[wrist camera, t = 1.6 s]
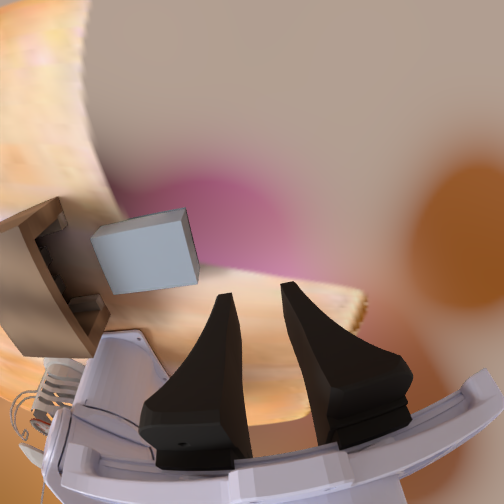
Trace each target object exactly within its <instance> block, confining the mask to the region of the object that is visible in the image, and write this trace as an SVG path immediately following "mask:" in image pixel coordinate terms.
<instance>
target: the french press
mask: <svg viewBox="0 0 504 504" xmlns="http://www.w3.org/2000/svg"><path fill="white" fill-rule="evenodd" d="M44 366H45V369H46V371H45V373H44V375H43V377H42V380H41V382H40V385H39V387H38V389H37V390H35V391H25V392H22V393H20V394H19V395H18V396H17V397H16V398H15V399H14V401H13V403H12V406H11V408H10V420H11V423H12V426H13V428H14V430H15V431H16V432H17V434H18V435H19V436H20V437H21V438H22V440H25V441H26V440H27V439H28V435H29V433H28V431H27V430H26V429H24V431H23V433H22V435H21V434H20V433H19V431H18V429H17V427H16V413H17V410H18V407H19V406H20V405H21V403H22V402H24V401H25V400H26V399H29V398H35V400H34V403H33V405H32V408H31V412H32V411H33V409H35V411H34V414H33V415H34V416H35V418H33V419H31V420H30V422H31V425H32V426H33V427H34V428H35V429H36V430H38V431H40V433H43V435H45V436H48V432H49V429H50V426H51V423H52V421H50V419H49V418H48V417H47V416H46V414H47V413H49V414H50V416H51V417H52V418H54V415H55V413H56V411H57V410H59V409H63V408H64V407H66V408H68V409H69V410H70V409H71V408H72V406H68V405H64V404H63V403H62V402H66V403H71V404H73V402H74V399H75V396H76V392H77V389H78V386H79V383H80V380H81V377H82V375H83V372H84V369H85V366H84V365H82V364H80V363H78V362H76V361H74V360H72V359H70V358H44ZM47 373H48V376H47ZM45 380H46V381H45ZM44 381H45V383H44ZM42 387H43V389H42V391H41V388H42ZM36 392H37V395H36V396H29V397H26V398H24V399H23V400H22V401H21V402H20V403H19V404H18V405H17V407H16V410H15V413H14V424H13V421H12V408H13V406H14V404H15V402H16V400H17V399H18V398H19V397H20V396H21V395H22V394H24V393H36ZM53 393H57V395H58V396H59V397H56V396H55V395H54V394H53ZM38 398H39V400H38ZM52 401H55V402H56V403H57V404H58V405H60V406H55V405H54V404H53V402H52ZM14 425H15V427H14ZM15 428H16V429H15ZM25 431H26V432H27V436H26V439H24V438H23V437H22V436H24V433H25ZM19 447H20V448H21V450H22V451H23V452H24V454H25V455H26V456H27V457H28V458H29V460H30V461H31V462H32V463H34V464H35V465H36V466H38V467H39V468H41V469H42V462H43V455H44V451H41V450H39V449H37V448H35V447H33V446H31V445H28V444H25V443H20V444H19ZM44 487H45V482H44V484H43V490H42V497H41V504H42V501H43V494H44Z"/></svg>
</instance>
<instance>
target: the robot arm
mask: <svg viewBox="0 0 504 504" xmlns="http://www.w3.org/2000/svg"><path fill="white" fill-rule="evenodd" d="M280 285H281V294H282V303H283V313H284V319H285V323H286V327H287V332H288V335H289V338H290V341H291V343H292V346H293V349H294V352H295V355H296V357H297V360H298V363H299V366H300V368H301V371H302V374H303V378H304V382H305V386H306V390H307V394H308V399H309V403H310V408H311V412H312V417H313V422H314V426H315V431H316V436H317V442H318V447H313V448H309V449H304V450H299V451H295V452H289V453H284V454H278V455H271V456H264V457H257V458H253V456H252V450H251V444H250V438H249V432H248V425H247V418H246V411H245V403H244V396H243V386H242V340H241V332H240V324H239V320H238V316H237V312H236V308H235V304H234V300H233V296H232V292H231V293H225V294H219V295H218V296H217V298H216V301H215V304H214V307H213V310H212V312H211V314H210V317H209V319H208V321H207V323H206V326H205V328H204V330H203V331H202V333H201V335H200V337H199V339H198V341H197V343H196V344H195V346H194V347H193V349H192V351H191V352H190V354H189V355H188V357H187V358H186V359H185V361H184V362H183V363H182V365H181V366H180V367H179V368H178V370H177V371H176V372H175V373H174V374H173V375H172V376H171V377H170V378H169V376H168V375H167V373H166V371H165V370H164V368H163V367H162V365H161V364H160V362H159V360H158V359H157V357H156V355H155V354H154V352H153V351H152V349H151V347H150V345H149V344H148V342H147V340H146V339H145V337H144V335H143V333H142V332H141V331H140V330H127V331H116V332H103V334H102V337H101V339H100V342H99V345H98V347H97V350H96V353H95V355H94V358H88V361H87V363H86V366H85V369H84V372H83V375H82V377H81V380H80V383H79V386H78V389H77V392H76V396H75V399H74V402H73V405H72V408H71V409H70V410H69V409H68V408H66V407H64V408H63V409H59V410H57V411H56V413H55V415H54V418H53V420H52V423H51V426H50V429H49V432H48V436H47V440H46V444H45V448H44V455H43V462H42V470H41V471H42V475H43V479H44V482H45V483H46V485H47V486H48V487H49V488H50V490H51V491H52V492H53V493H54V494H55V495H56V497H57V498H58V499H59V500H60V501H61V502H62V503H63V504H407V502H406V499H405V496H404V493H403V490H402V487H401V484H400V481H399V480H400V479H402V478H404V477H406V476H408V475H410V474H412V473H414V472H416V471H418V470H420V469H422V468H423V467H425V466H427V465H429V464H431V463H433V462H434V461H436V460H438V459H439V458H441V457H443V456H444V455H446V454H448V453H449V452H451V451H452V450H454V449H455V448H457V447H459V446H460V445H462V444H463V443H465V442H466V441H468V440H469V439H470V438H472V437H473V436H475V435H476V434H477V433H479V432H480V431H482V430H483V429H484V428H485V427H486V426H487V425H488V424H489V423H491V422H492V421H493V420H494V419H495V418H496V417H497V416H498V415H499V414H500V413H501V412H502V411H503V410H504V396H503V395H502V393H501V391H500V389H499V388H498V386H497V384H496V383H495V381H494V380H493V378H492V377H491V375H490V373H489V372H488V370H487V369H486V368H483V369H482V370H480V371H479V372H477V373H475V374H474V375H472V376H471V377H469V378H468V379H467V380H466V381H465V382H464V383H463V385H462V386H461V388H460V389H459V390H458V391H456V392H454V393H452V394H450V395H449V396H447V397H445V398H443V399H441V400H439V401H438V402H436V403H434V404H432V405H430V406H428V407H426V408H424V409H422V410H419V411H418V412H415V413H413V414H411V415H410V413H409V411H408V408H407V406H406V405H407V404H408V401H407V399H406V397H405V394H406V392H407V391H408V389H409V387H410V385H411V383H412V380H413V374H412V372H411V370H410V368H409V367H408V365H407V364H406V362H405V361H404V360H403V358H402V357H401V356H400V355H397V354H394V353H391V352H389V351H386V350H383V349H381V348H378V347H376V346H374V345H372V344H369V343H367V342H365V341H364V340H362V339H360V338H358V337H356V336H355V335H353V334H351V333H350V332H348V331H347V330H345V329H344V328H342V327H341V326H340V325H338V324H337V323H336V322H334V321H333V320H332V319H330V318H329V317H328V316H327V315H326V314H325V313H323V312H322V311H321V310H320V309H319V308H318V307H317V306H316V305H315V304H314V303H313V302H312V301H311V300H310V299H309V298H308V297H307V296H306V295H305V294H304V292H303V291H302V290H301V289H300V288H299V287H298V285H297V284H296V283H295V282H294V281H292V282H287V283H282V284H280ZM138 337H139V338H138Z"/></svg>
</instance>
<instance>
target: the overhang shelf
mask: <svg viewBox="0 0 504 504" xmlns="http://www.w3.org/2000/svg"><path fill="white" fill-rule="evenodd" d="M67 225H68V224H67V221H66V219H65V216H64V213H63V210H62V207H61V205H60V202H59V199H58V197H55V198H53V199H50V200H48V201H45V202H43V203H40V204H38V205H36V206H33V207H31V208H29V209H27V210H24V211H22V212H20V213H18V214H16V215H14V216H12V217H9V218H7V219H5V220H3V221H1V222H0V325H1V326H2V328H3V329H4V331H5V332H6V334H7V335H8V336H9V338H10V339H11V340H12V342H13V343H14V344H15V346H16V347H17V348H18V350H19V351H20V352H21V353H22V355H23V356H28V357H45V358H94V355H95V353H96V350H97V347H98V345H99V342H100V339H101V337H102V334H103V332H104V329H105V327H106V324H107V322H108V320H109V317H110V313H109V311H108V309H107V307H106V306H105V304H104V302H103V300H102V298H101V296H100V294H96V295H90V296H83V297H76V298H72V299H71V301H70V302H69V304H68V305H69V307H68V305H67V303H66V301H65V300H64V298H63V296H62V293H63V292H64V290H65V289H66V286H65V284H64V283H63V281H62V279H61V277H60V275H54V276H51V274H50V272H49V270H48V268H47V266H48V265H49V264H50V263H51V262H52V258H51V256H50V254H49V252H48V250H47V248H46V246H45V247H41V248H38V247H37V244H36V242H35V240H34V239H36V238H39V237H42V236H45V235H48V234H51V233H54V232H57V231H60V230H63V229H64V228H65V227H66V226H67Z"/></svg>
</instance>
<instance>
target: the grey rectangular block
mask: <svg viewBox="0 0 504 504" xmlns="http://www.w3.org/2000/svg"><path fill="white" fill-rule="evenodd" d="M90 240H91V243H92V246H93V248H94V251H95V253H96V256H97V258H98V261H99V263H100V265H101V268H102V270H103V273H104V275H105V277H106V279H107V282H108V284H109V286H110V288H111V290H112V292H113V295H118V294H126V293H134V292H142V291H150V290H158V289H165V288H173V287H180V286H188V285H195V284H198V277H199V269H200V267H199V263H198V262H199V260H198V256H197V252H196V248H195V244H194V240H193V236H192V232H191V227H190V223H189V219H188V214H187V210H186V207H184V208H178V209H173V210H168V211H162V212H157V213H152V214H147V215H143V216H138V217H133V218H128V219H127V220H126V221H121V222H117V223H112V224H108V225H104V226H100V228H99V229H98V230H97V231H96V232H95V233H94V234H93V236H92V237H91V238H90Z"/></svg>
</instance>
